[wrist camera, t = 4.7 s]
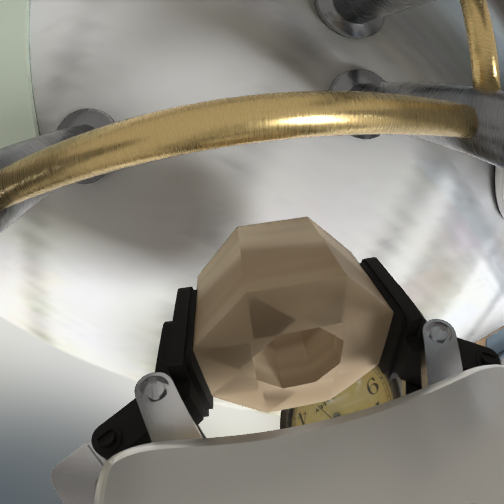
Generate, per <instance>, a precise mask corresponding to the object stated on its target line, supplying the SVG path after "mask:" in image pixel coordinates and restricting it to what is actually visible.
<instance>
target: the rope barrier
mask: <svg viewBox="0 0 504 504" xmlns="http://www.w3.org/2000/svg"><path fill="white" fill-rule="evenodd" d="M431 1H435V0H315V7H316V10H317V13H318V14H319V16H320V18H321V19H322V21H323V22H324V23H325V24H326V25H327V26H328V27H329V28H331V29H332V30H333V31H335V32H336V33H338V34H340V35H343V36H345V37H349V38H357V39H358V38H364V37H368V36H371V35H373V34H375V33H377V32H378V31H379V30H380V28H381V27H382V25H383V21H384V16H385V15H388V14H391V13H394V12H397V11H400V10H403V9H406V8H410V7H413V6H416V5H420V4H424V3H427V2H431ZM460 4H461V8H462V12H463V17H464V22H465V27H466V32H467V38H468V44H469V51H470V59H471V68H472V80H473V86H465V85H454V84H441V83H420V82H385V81H384V80H383V79H382V78H381V77H379V76H378V75H377V74H375V73H373V72H371V71H367V70H352V71H348V72H345V73H343V74H341V75H340V76H338V77H337V78H336V79H335V80H334V82H333V83H332V85H331V87H330V90H329V91H302V92H283V93H269V94H258V95H249V96H240V97H232V98H225V99H218V100H212V101H206V102H200V103H194V104H189V105H184V106H179V107H174V108H170V109H165V110H161V111H157V112H153V113H148V114H145V115H141V116H137V117H133V118H130V119H126V120H123V121H119V122H116V123H115V122H114V121H113V120H112V118H111V117H110V116H109V115H107V114H106V113H104V112H102V111H99V110H95V109H85V110H79V111H76V112H74V113H72V114H70V115H69V116H67V117H66V118H65V119H64V120H63V121H62V122H61V124H60V125H59V126H58V128H57V130H56V131H54V132H51V133H47V134H43V135H40V136H37V137H33V138H30V139H27V140H24V141H21V142H18V143H15V144H12V145H9V146H6V147H3V148H0V233H1V232H2V231H3V230H4V229H6V228H7V227H8V226H9V225H10V224H12V223H13V222H14V221H15V220H16V219H18V218H19V217H20V216H21V215H23V214H24V213H25V212H26V211H28V210H29V209H30V208H32V207H33V206H34V205H36V204H37V203H38V202H40V201H41V200H42V199H44V198H45V197H47V196H48V195H49V194H51V193H52V192H54V191H55V190H57V189H58V188H60V187H63V186H66V185H69V184H72V183H80V184H86V183H92V182H94V181H97V180H98V179H100V178H101V177H103V176H104V175H105V174H107V173H108V172H112V171H115V170H119V169H123V168H127V167H130V166H134V165H138V164H142V163H147V162H151V161H155V160H160V159H164V158H169V157H173V156H178V155H183V154H188V153H193V152H199V151H204V150H210V149H216V148H222V147H228V146H235V145H242V144H249V143H256V142H265V141H273V140H282V139H293V138H304V137H317V136H333V135H351V136H354V137H357V138H361V139H372V138H375V137H378V136H380V135H381V134H404V135H408V136H412V137H415V138H419V139H422V140H425V141H429V142H432V143H435V144H438V145H441V146H444V147H447V148H450V149H453V150H456V151H459V152H462V153H465V154H467V155H470V156H473V157H475V158H478V159H480V160H483V161H485V162H488V163H490V164H492V165H495V166H497V167H499V168H502V169H504V91H501V86H500V73H499V64H498V56H497V49H496V42H495V36H494V31H493V26H492V21H491V17H490V13H489V9H488V5H487V1H486V0H460Z"/></svg>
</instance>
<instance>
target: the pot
mask: <svg viewBox="0 0 504 504" xmlns="http://www.w3.org/2000/svg"><path fill="white" fill-rule="evenodd" d="M393 313H394V312H393V310H392V309H391V307H390V306H389V305H388V303H387V302H386V300H385V299H384V297H383V296H382V294H381V293H380V292H379V290H378V289H377V287H376V286H375V285H374V283H373V282H372V280H371V279H370V278H369V276H368V275H367V274H366V272H365V271H364V269H363V268H362V267H361V265H360V264H359V262H358V261H357V260H356V258H355V257H354V256H353V254H352V253H351V252H350V251H349V250H348V249H346V248H345V247H344V246H343V245H342V244H340V243H339V242H338V241H337V240H336V239H334V238H333V237H332V236H331V235H330V234H328V233H327V232H326V231H325V230H323V229H322V228H321V227H320V226H318V225H317V224H316V223H315V222H313V221H312V220H311V219H310V218H308V217H302V218H295V219H288V220H281V221H274V222H267V223H260V224H253V225H247V226H240V227H237V228H236V229H235V230H234V232H233V233H232V234H231V235H230V237H229V238H228V239H227V240H226V242H225V243H224V244H223V245H222V246H221V248H220V249H219V250H218V251H217V253H216V254H215V255H214V257H213V258H212V259H211V260H210V262H209V263H208V264H207V265H206V267H205V268H204V269H203V270H202V272H201V273H200V274H199V275H198V280H197V298H196V310H195V323H194V338H193V351H194V354H195V356H196V359H197V361H198V364H199V366H200V368H201V371H202V373H203V376H204V378H205V380H206V383H207V385H208V387H209V390H210V392H211V394H212V396H213V397H216V398H219V399H222V400H225V401H229V402H232V403H235V404H238V405H242V406H245V407H249V408H252V409H256V410H260V411H264V412H272V411H278V410H284V409H290V408H295V407H300V406H305V405H310V404H314V403H319V402H323V401H327V400H330V399H332V398H333V397H335V396H336V395H338V394H339V393H341V392H342V391H343V390H345V389H346V388H348V387H349V386H350V385H352V384H353V383H354V382H356V381H357V380H359V379H360V378H361V377H363V376H364V375H365V374H366V373H368V372H369V371H370V370H372V369H373V368H374V367H375V366H377V365H378V364H379V362H380V358H381V355H382V352H383V349H384V346H385V342H386V339H387V335H388V332H389V328H390V324H391V321H392V317H393Z"/></svg>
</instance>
